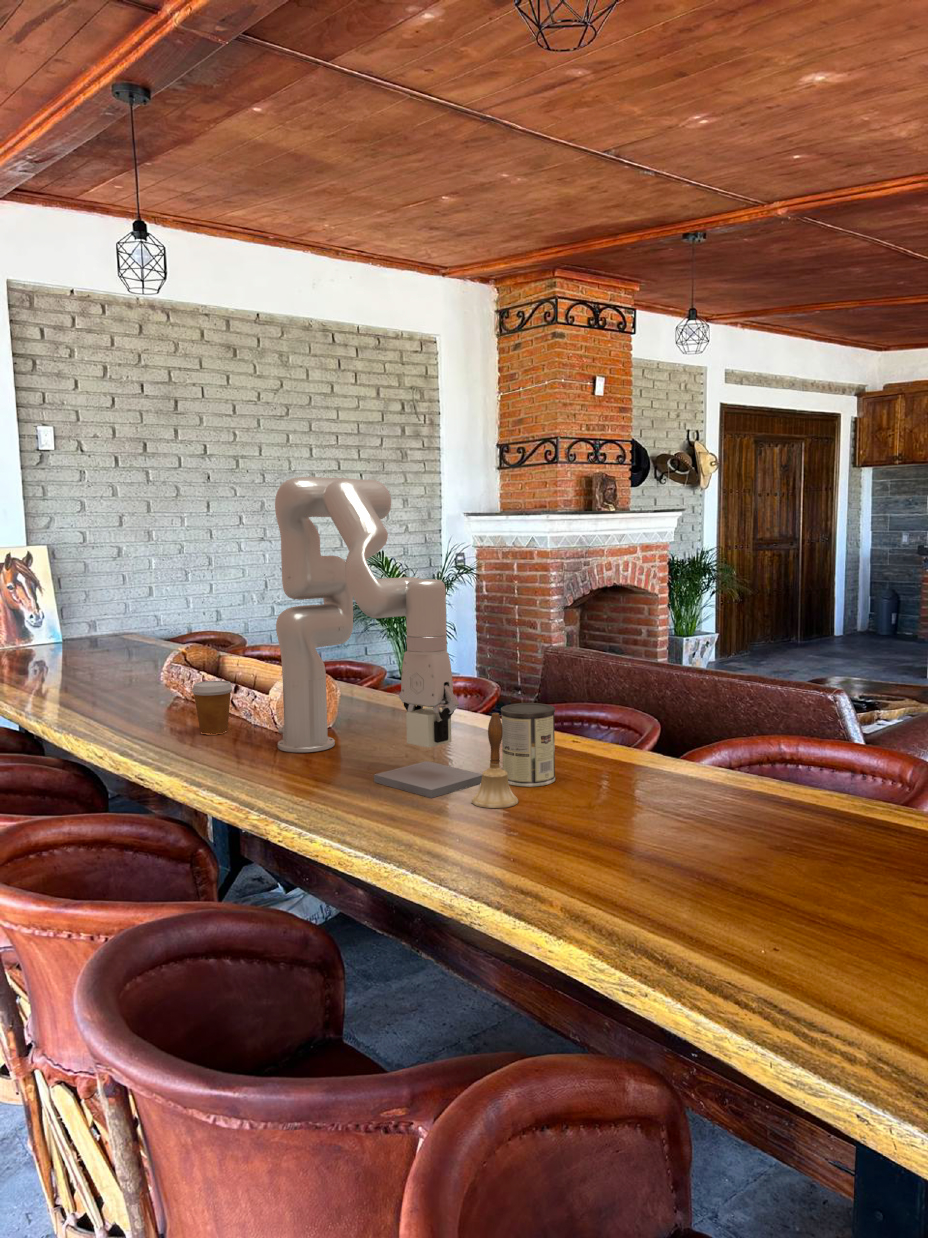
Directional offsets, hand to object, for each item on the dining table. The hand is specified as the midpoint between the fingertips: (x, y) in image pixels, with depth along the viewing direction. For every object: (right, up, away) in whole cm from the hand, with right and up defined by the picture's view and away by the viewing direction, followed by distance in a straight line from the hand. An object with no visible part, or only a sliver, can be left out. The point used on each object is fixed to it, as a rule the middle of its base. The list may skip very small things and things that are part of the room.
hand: (429, 738), depth 179 cm
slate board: (0, -9, +1) cm, 9 cm away
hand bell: (+12, -10, -12) cm, 20 cm away
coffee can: (+19, -8, +2) cm, 21 cm away
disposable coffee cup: (-54, -5, +48) cm, 72 cm away
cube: (0, -1, 0) cm, 1 cm away
